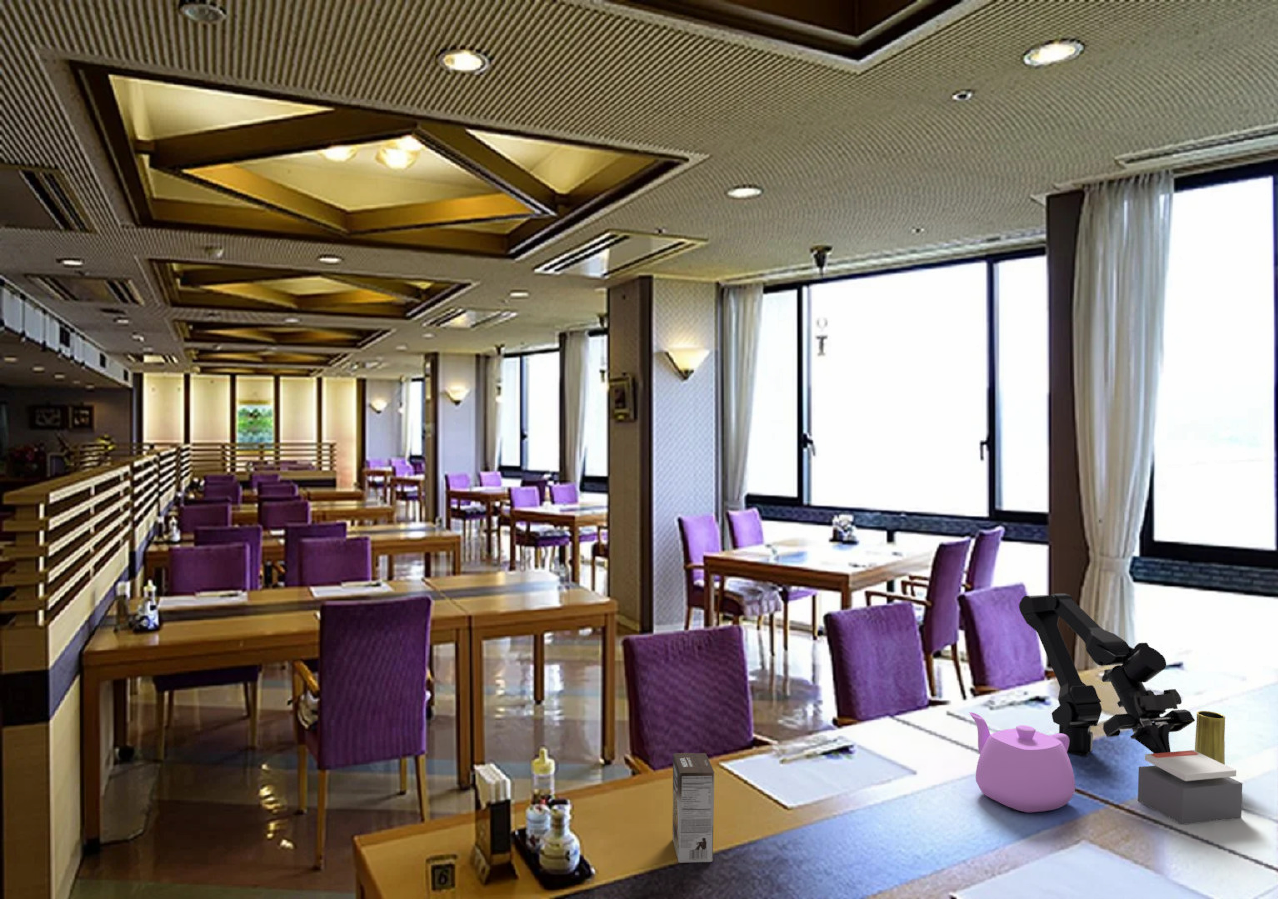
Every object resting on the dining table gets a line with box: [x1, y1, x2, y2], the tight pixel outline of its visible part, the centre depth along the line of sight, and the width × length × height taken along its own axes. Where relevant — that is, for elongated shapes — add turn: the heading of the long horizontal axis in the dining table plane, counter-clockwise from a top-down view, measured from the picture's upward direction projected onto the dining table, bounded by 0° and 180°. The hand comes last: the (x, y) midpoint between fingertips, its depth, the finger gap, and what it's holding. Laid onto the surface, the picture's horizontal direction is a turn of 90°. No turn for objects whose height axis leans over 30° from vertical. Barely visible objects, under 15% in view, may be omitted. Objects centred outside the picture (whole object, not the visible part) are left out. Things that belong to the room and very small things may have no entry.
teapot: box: [968, 712, 1076, 814], centre depth 182 cm, size 23×21×15 cm
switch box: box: [1137, 765, 1243, 825], centre depth 175 cm, size 11×14×7 cm
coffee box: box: [672, 752, 715, 864], centre depth 156 cm, size 9×6×16 cm
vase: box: [1194, 710, 1226, 765], centre depth 191 cm, size 6×6×14 cm
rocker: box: [1144, 749, 1237, 781], centre depth 175 cm, size 10×12×1 cm
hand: (1169, 762), depth 180 cm, fingers closed
